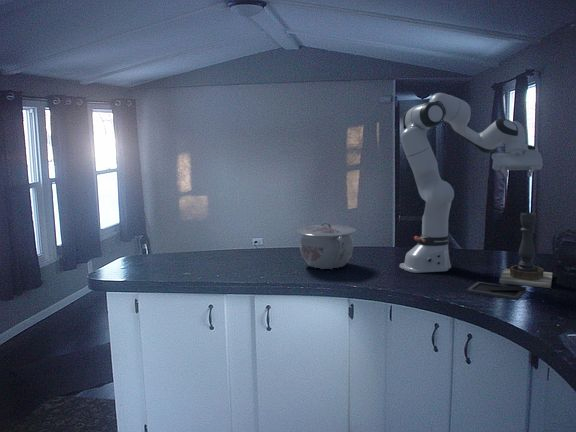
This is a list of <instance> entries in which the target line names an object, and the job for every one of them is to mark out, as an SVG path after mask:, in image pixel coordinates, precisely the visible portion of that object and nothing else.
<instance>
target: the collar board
mask: <svg viewBox="0 0 576 432" xmlns="http://www.w3.org/2000/svg"><path fill="white" fill-rule="evenodd" d="M518 266H519V264H515V265H511V266H510V267H509V268H504V270H503V271H502V274H501V276H500V278H499V284H503V285H506V284H507V285H513V286H523V287H537V288H546V289H547V288H548V289H551V287H552V280H553V272H548V271H545V270H544V268H542V267H540V266H535V265H534V266H533V267H534V268H535V272H523V271H518Z"/></svg>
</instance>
